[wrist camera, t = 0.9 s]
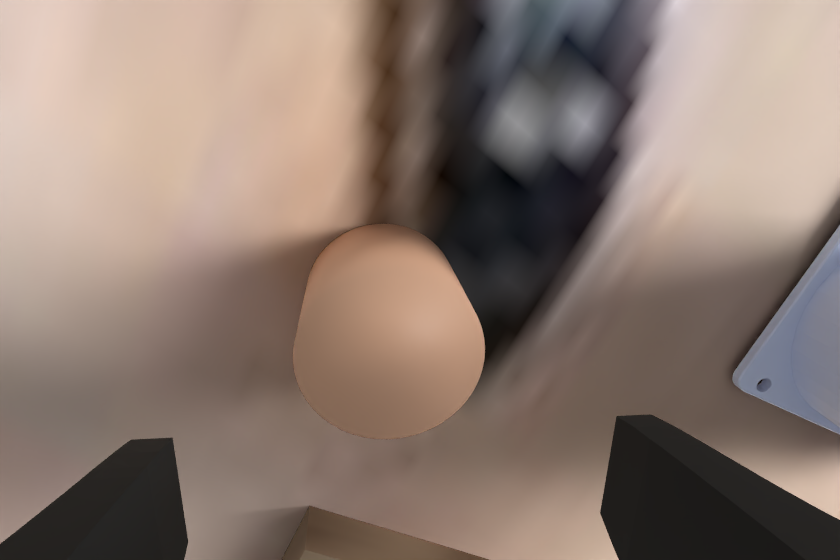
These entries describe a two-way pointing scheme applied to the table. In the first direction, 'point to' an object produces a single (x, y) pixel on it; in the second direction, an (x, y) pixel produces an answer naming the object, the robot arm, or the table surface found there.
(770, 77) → the table surface
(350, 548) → the walnut slab
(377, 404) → the terracotta capsule
